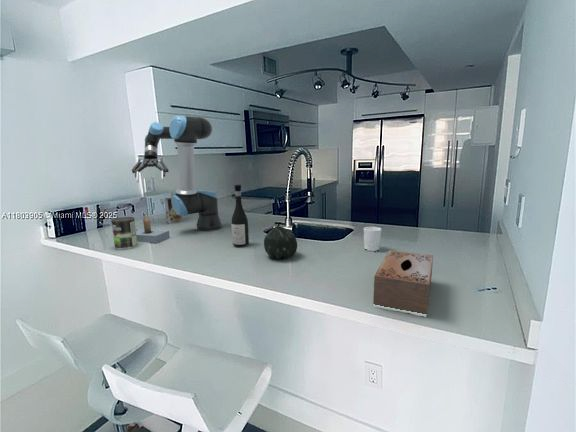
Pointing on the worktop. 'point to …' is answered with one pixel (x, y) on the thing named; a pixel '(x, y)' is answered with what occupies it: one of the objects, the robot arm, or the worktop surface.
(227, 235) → the worktop surface
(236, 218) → the wine bottle
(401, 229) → the worktop surface
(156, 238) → the socket board
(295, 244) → the squash
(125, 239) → the coffee can
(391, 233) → the worktop surface
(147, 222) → the dowel
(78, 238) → the worktop surface
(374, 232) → the white cup
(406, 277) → the tissue box cover
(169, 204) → the coffee box
